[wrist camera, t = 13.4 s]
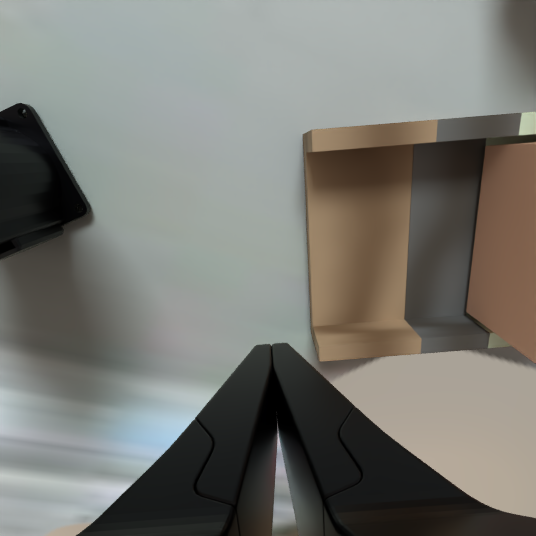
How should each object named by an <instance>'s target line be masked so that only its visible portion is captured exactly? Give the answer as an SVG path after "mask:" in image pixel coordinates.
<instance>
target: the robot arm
mask: <svg viewBox="0 0 536 536" xmlns="http://www.w3.org/2000/svg"><path fill="white" fill-rule="evenodd" d="M24 109H25V110H26V111H27V117H26V118H24V116H23V114H22V113H23V110H24ZM78 204H80V205H81V206H82V208H83V210H82V211H79V210H78V208H77V206H78ZM89 212H90V205H89V203H88V201H87V200H86V198H85V196H84V194H83V193H82V191H81V189H80V188H79V186H78V184H77V182H76V181H75V179H74V177H73V175H72V174H71V172H70V170H69V168H68V167H67V165H66V163H65V161H64V160H63V158H62V156H61V155H60V153H59V151H58V149H57V148H56V146H55V144H54V142H53V141H52V139H51V137H50V135H49V134H48V132H47V130H46V129H45V127H44V125H43V123H42V122H41V120H40V118H39V116H38V115H37V113H36V111H35V110H34V108H33V107H31V106H30V105H27V104H22V103H18V104H15V105H13V106H11V107H9V108H7V109H5V110H3V111H1V112H0V260H2V259H5V258H7V257H10V256H12V255H15V254H17V253H20V252H22V251H25V250H27V249H30V248H32V247H34V246H37V245H39V244H41V243H43V242H46V241H48V240H50V239H53V238H55V237H57V236H59V235H62V233H63V230H64V229H63V228H62V225H65V224H67V223H69V222H72V221H74V220H76V219H78V218H81V217H83V216H85V215H87V214H88V213H89ZM276 411H277V412H276ZM277 423H278V430H277ZM278 432H279V438H280V443H281V448H282V453H283V458H284V463H285V468H286V473H287V478H288V483H289V488H290V493H291V498H292V503H293V508H294V513H295V518H296V523H297V528H298V533H299V536H536V518H532V517H526V516H521V515H516V514H511V513H507V512H503V511H500V510H497V509H494V508H492V507H489V506H487V505H485V504H483V503H481V502H479V501H478V500H476V499H474V498H472V497H471V496H469V495H468V494H466V493H465V492H463V491H462V490H461V489H459V488H458V487H456V486H455V485H454V484H452V483H451V482H450V481H448V480H447V479H445V478H444V477H443V476H442V475H440V474H439V473H438V472H436V471H435V470H434V469H432V468H431V467H430V466H428V465H427V464H425V463H424V462H423V461H421V460H420V459H419V458H417V457H416V456H414V455H413V454H412V453H411V452H409V451H408V450H407V449H405V448H404V447H402V446H401V445H400V444H399V443H398V442H396V441H395V440H393V439H392V438H391V437H390V436H388V435H387V434H386V433H385V432H383V431H382V430H381V429H380V428H379V427H378V426H377V425H375V424H374V423H373V422H372V421H371V420H370V419H369V418H367V417H366V416H365V415H364V414H363V413H362V412H361V411H360V410H359V409H357V408H356V407H355V406H354V405H353V404H352V403H351V402H350V401H349V400H348V399H347V398H346V397H345V396H344V395H342V394H341V393H340V392H339V391H338V390H337V389H336V388H335V387H334V386H333V385H332V384H331V383H330V382H329V381H327V380H326V379H325V378H324V377H323V376H322V375H321V374H320V373H319V372H318V371H317V370H316V369H315V368H314V367H312V366H311V365H310V364H309V363H308V362H307V361H306V360H305V359H304V358H303V357H302V356H301V355H300V354H299V353H297V352H296V351H295V350H294V349H293V348H292V347H291V346H290V345H289V344H288V343H276V344H273V345H272V346H271V345H270V344H263V345H256V346H255V347H254V348H253V349H252V350H251V352H250V353H249V354H248V355H247V356H246V358H245V359H244V360H243V361H242V362H241V364H240V365H239V366H238V367H237V368H236V370H235V371H234V372H233V373H232V374H231V376H230V377H229V378H228V379H227V381H226V382H225V383H224V384H223V385H222V387H221V388H220V389H219V390H218V391H217V393H216V394H215V395H214V396H213V397H212V399H211V400H210V401H209V402H208V403H207V405H206V406H205V407H204V408H203V409H202V411H201V412H200V413H199V414H198V415H197V417H196V418H195V420H193V421H192V422H191V424H190V425H189V426H188V427H187V428H186V430H185V431H184V432H183V433H182V434H181V435H180V436H179V438H178V439H177V440H176V441H175V442H174V443H173V444H172V445H171V447H170V448H169V449H168V450H167V451H166V452H165V453H164V454H163V455H162V456H161V457H160V458H159V459H158V460H157V461H156V462H155V463H154V464H153V465H152V466H151V467H150V468H149V469H148V470H147V471H146V472H145V473H144V474H143V475H142V476H141V477H140V478H139V479H138V480H137V481H136V482H134V483H133V484H132V485H131V486H130V487H129V488H128V489H127V490H126V491H125V492H124V493H123V494H122V495H121V496H120V497H119V498H118V499H117V500H116V501H115V502H114V503H113V504H112V505H111V506H110V507H109V508H108V509H107V510H106V511H105V512H104V513H103V514H102V515H100V516H99V517H98V518H97V519H96V520H95V521H94V522H93V523H92V524H91V525H89V526H88V527H87V528H86V529H84V530H83V531H82V532H80V533H79V534H78V535H76V536H272V522H273V505H274V488H275V471H276V455H277V434H278Z"/></svg>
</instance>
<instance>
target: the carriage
mask: <svg viewBox="0 0 536 536" xmlns="http://www.w3.org/2000/svg"><path fill="white" fill-rule="evenodd" d="M466 312H467V313H469V314H470V315H471V316H473V317H474V318H475V319H477V320H478V321H479V322H481V323H482V324H483V325H485V326H486V327H487V328H489V329H490V330H491V331H493V332H494V333H495V334H497V335H498V336H499V337H501V338H502V339H503V340H505V341H506V342H507V343H509V344H510V345H511V346H513V347H514V348H515V349H517V350H518V351H519V352H521V353H522V354H523V355H525V356H526V357H527V358H529V359H530V360H531V361H533V362H534V363H535V364H536V142H527V143H514V144H502V145H489V146H486V147H485V156H484V164H483V173H482V181H481V190H480V198H479V207H478V215H477V224H476V232H475V241H474V250H473V258H472V267H471V275H470V284H469V292H468V301H467V309H466Z"/></svg>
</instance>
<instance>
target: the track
mask: <svg viewBox="0 0 536 536" xmlns="http://www.w3.org/2000/svg"><path fill="white" fill-rule="evenodd" d="M527 142H536V112H526V113H514V114H501V115H489V116H477V117H464V118H452V119H440V120H427V121H415V122H402V123H390V124H378V125H365V126H353V127H341V128H328V129H316V130H311V131H309V132H307V133H305V134H303V149H304V173H305V197H306V221H307V246H308V270H309V294H310V318H311V334H312V337H313V341H314V344H315V348H316V351H317V355H318V358H319V361H320V362H321V361H334V360H346V359H359V358H372V357H384V356H397V355H410V354H422V353H435V352H447V351H460V350H473V349H485V348H498V347H510V346H511V345H510V344H509V343H507V342H506V341H505V340H503V339H502V338H501V337H499V336H498V335H497V334H495V333H494V332H493V331H491V330H490V329H489V328H487V327H486V326H485V325H483V324H482V323H481V322H479V321H478V320H477V319H475V318H474V317H473V316H471V315H470V314H469V313H467V312H466V309H467V301H468V292H469V284H470V275H471V267H472V258H473V250H474V241H475V232H476V224H477V215H478V207H479V198H480V190H481V181H482V173H483V164H484V156H485V147H486V146H489V145H502V144H514V143H527Z"/></svg>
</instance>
